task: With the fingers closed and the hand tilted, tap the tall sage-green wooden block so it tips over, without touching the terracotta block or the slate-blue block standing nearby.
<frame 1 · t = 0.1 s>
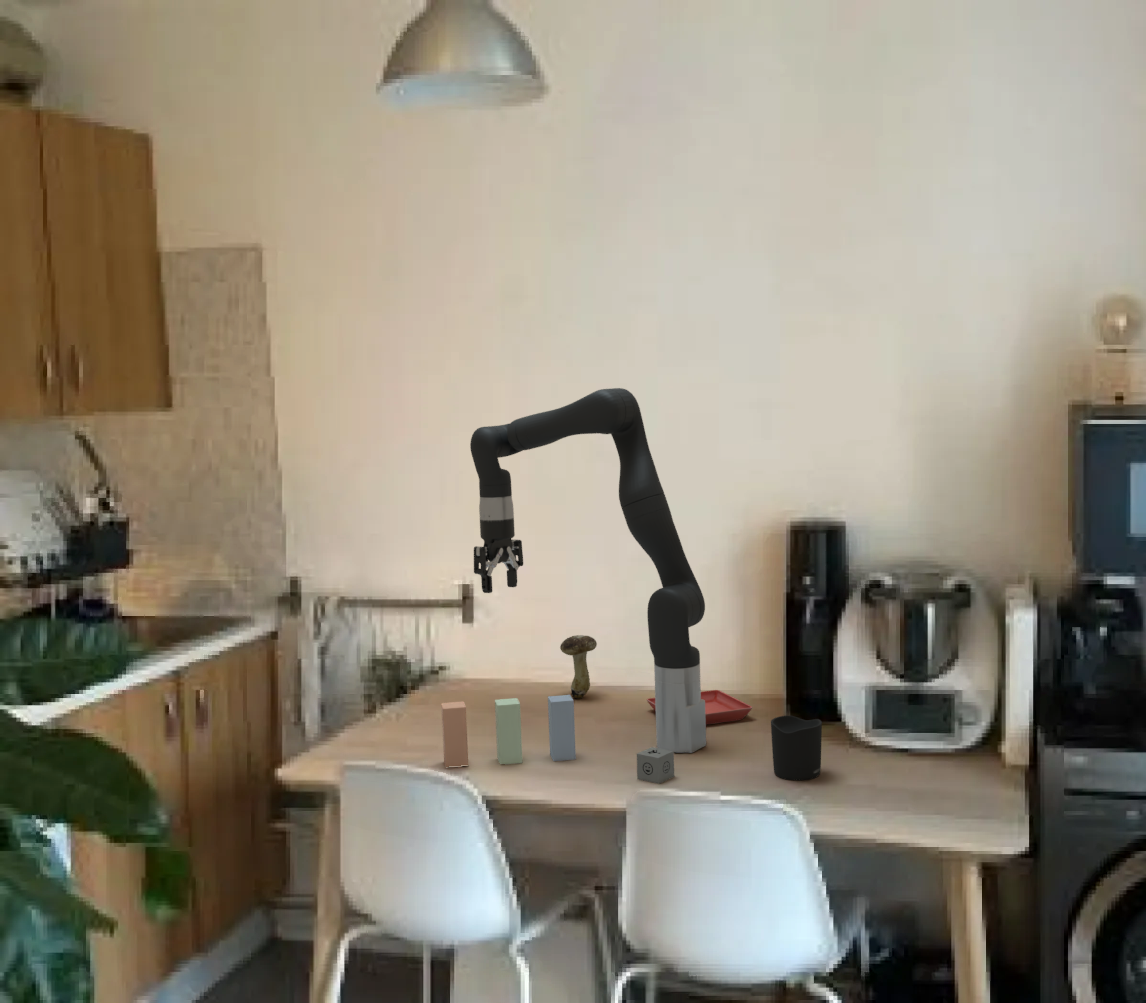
hand: (500, 589, 283), 29 cm above the table, tool pointing down, fingers open, 8 cm apart
mushroom: (580, 698, 301), on the table
pen holder: (797, 774, 241), on the table
terracotta block: (456, 764, 254), on the table
red square tray: (698, 718, 283), on the table
slate blue block: (562, 757, 256), on the table
dice cube: (655, 779, 241), on the table
sage green block: (509, 760, 255), on the table
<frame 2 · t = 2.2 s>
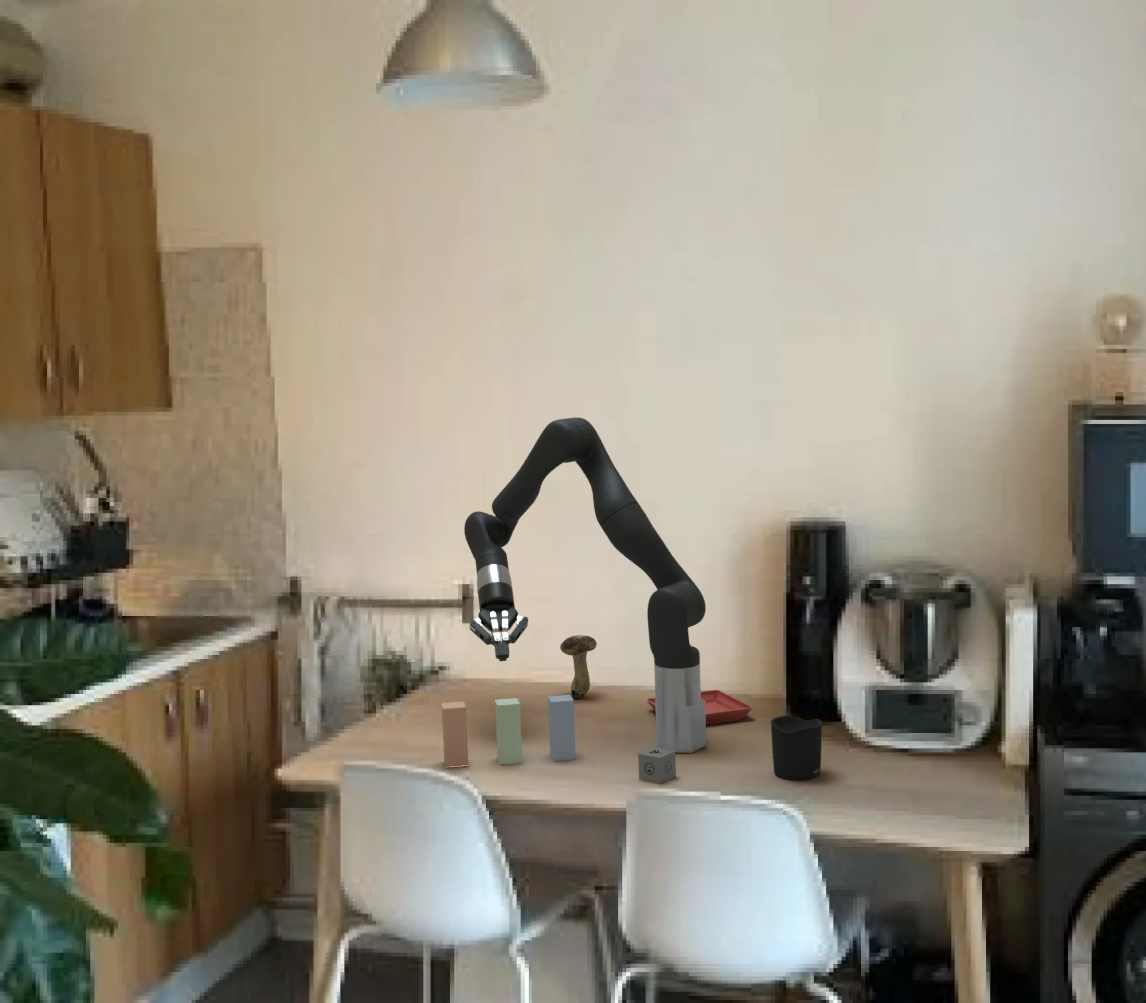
hand: (503, 659, 265), 18 cm above the table, tool tilted 45°, fingers closed
nothing on the table moved.
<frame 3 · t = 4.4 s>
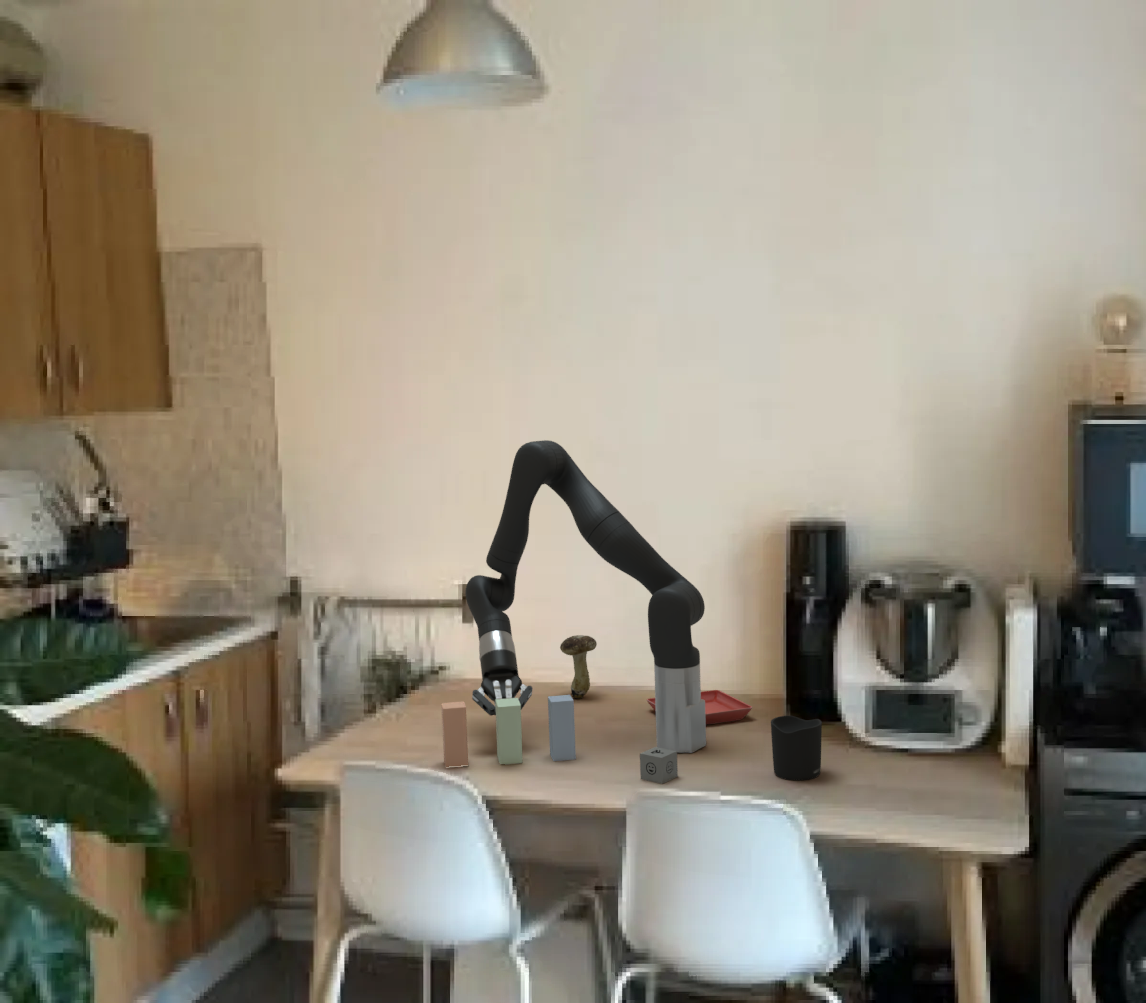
hand: (507, 730, 257), 5 cm above the table, tool tilted 45°, fingers closed
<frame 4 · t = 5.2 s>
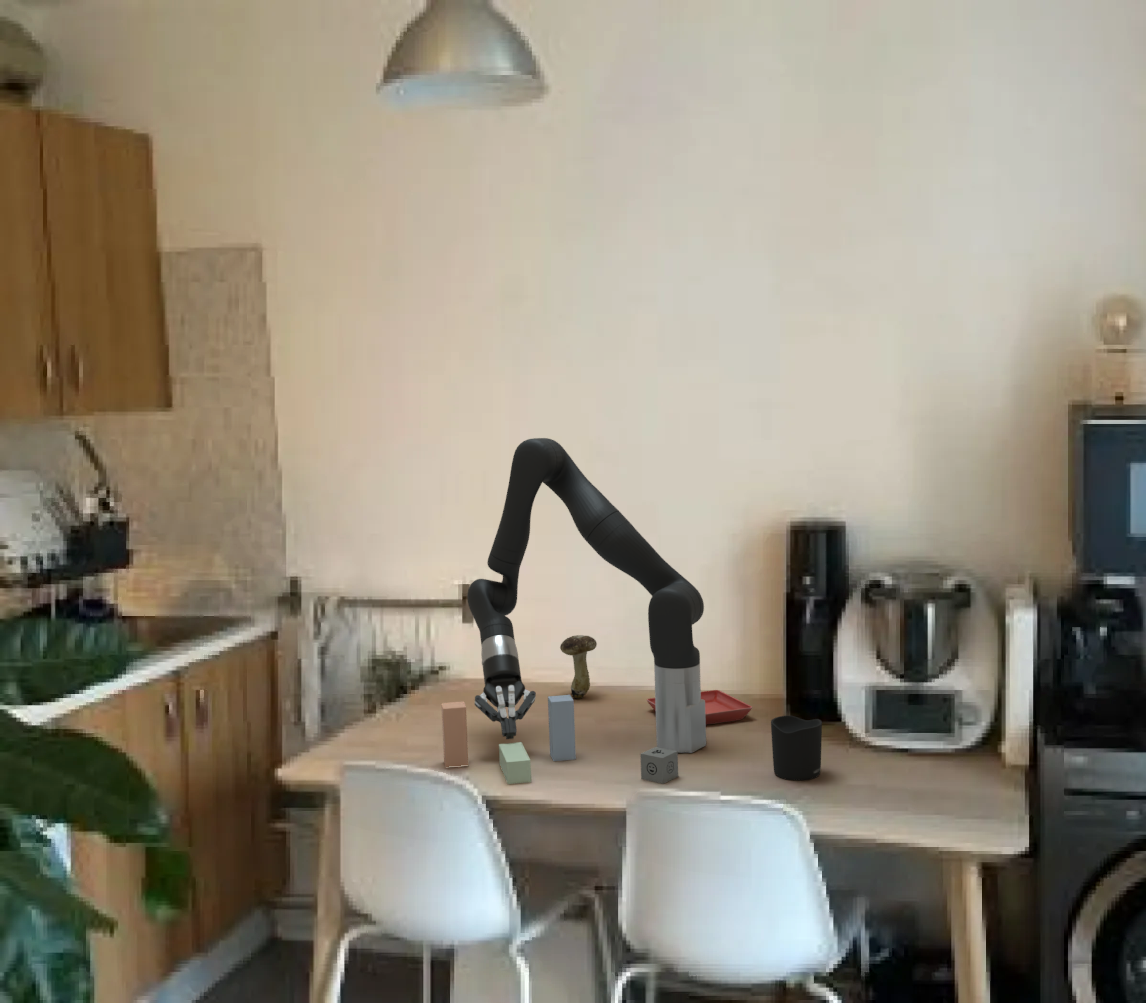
hand: (510, 737, 253), 5 cm above the table, tool tilted 45°, fingers closed
sage green block: (510, 754, 253), point 2 cm above the table, tilted 90°
everything else where it was.
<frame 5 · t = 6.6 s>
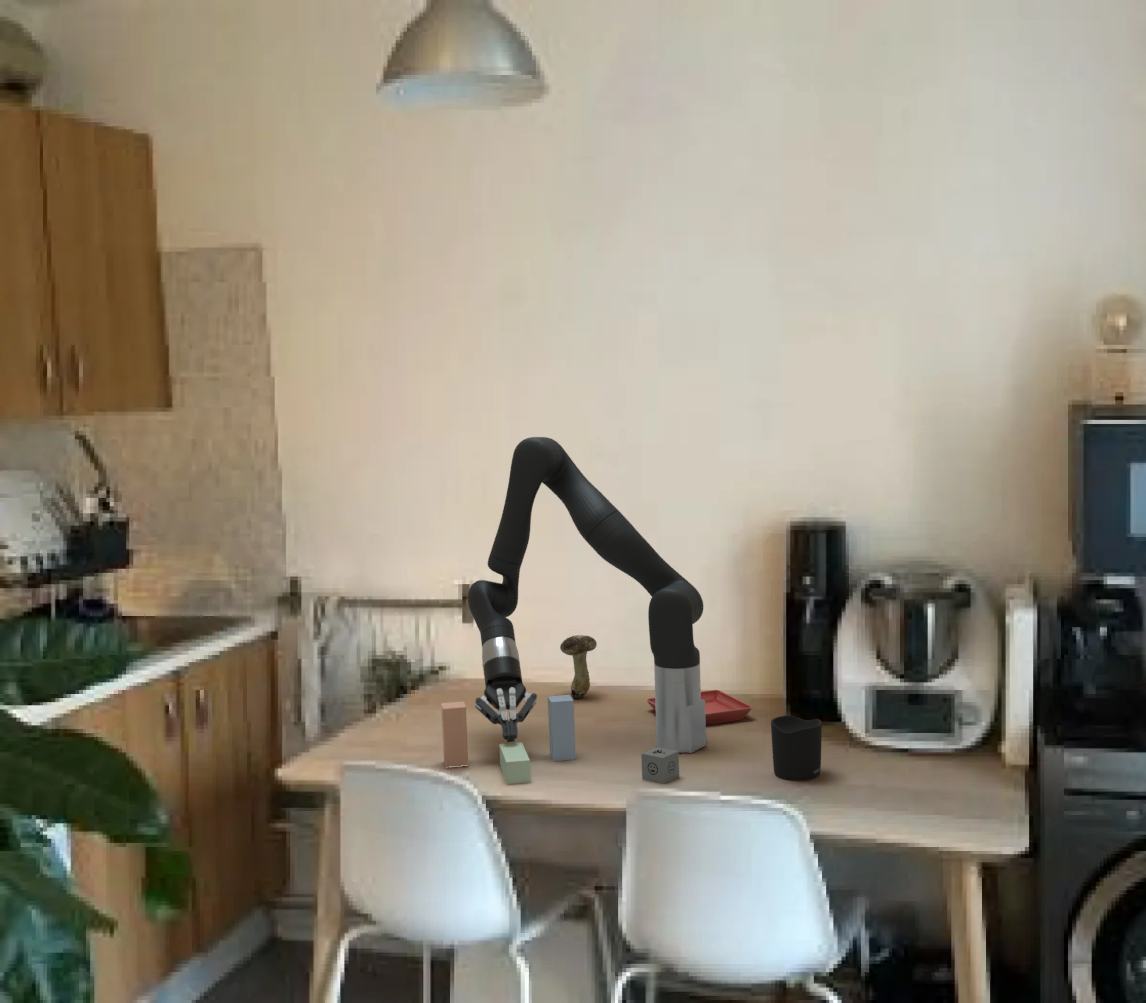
hand: (511, 739, 251), 5 cm above the table, tool tilted 45°, fingers closed
nothing on the table moved.
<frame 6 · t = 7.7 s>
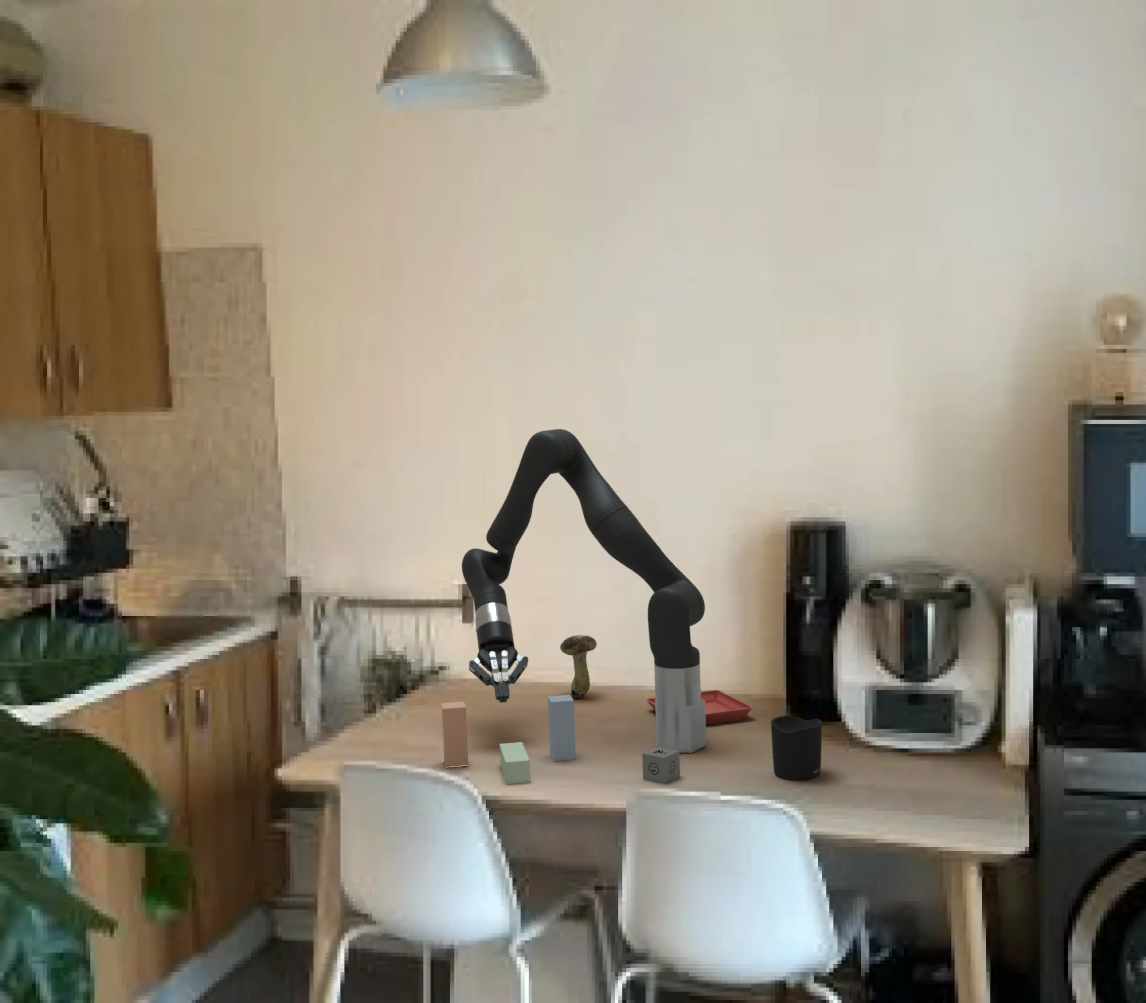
hand: (503, 700, 260), 11 cm above the table, tool tilted 45°, fingers closed
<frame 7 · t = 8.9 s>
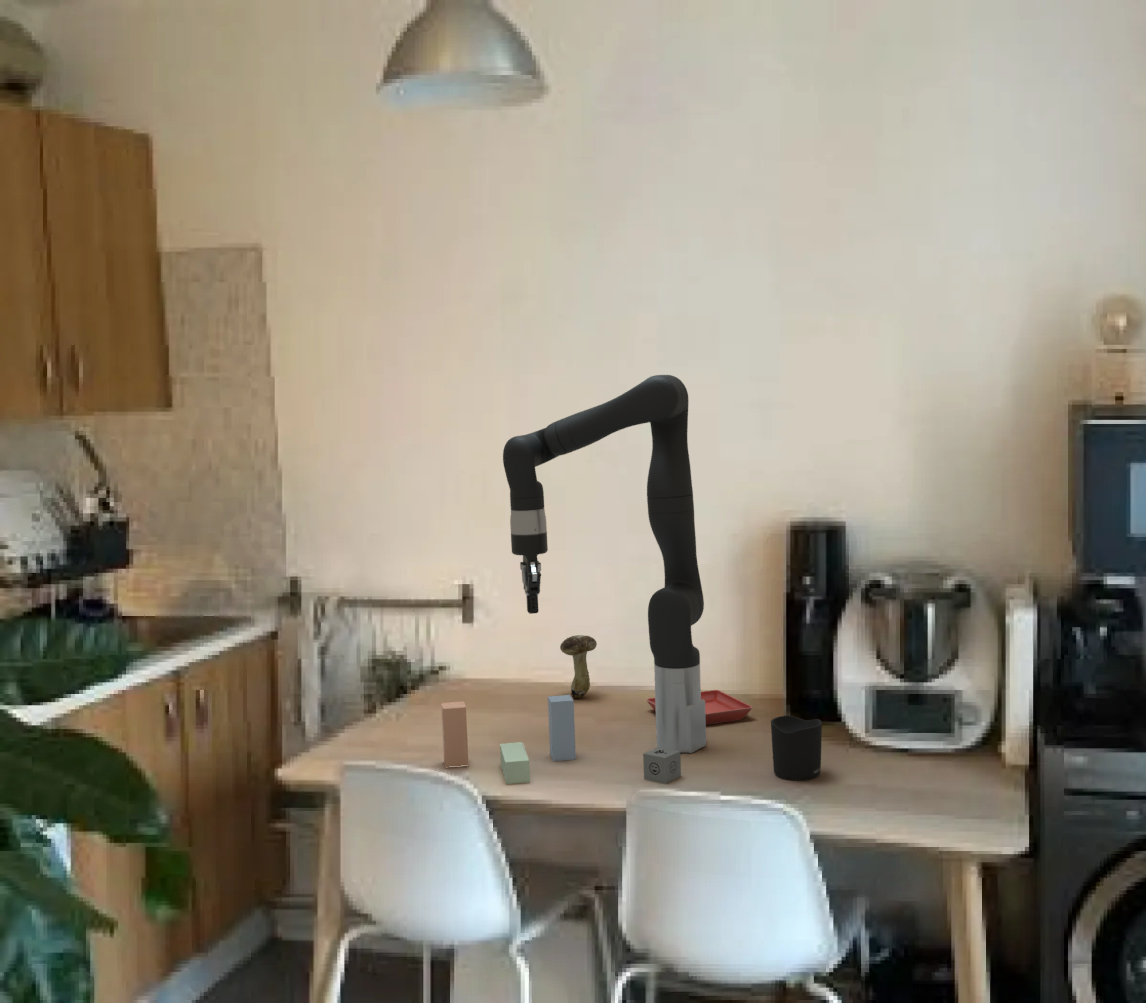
hand: (532, 612, 268), 27 cm above the table, tool pointing down, fingers closed
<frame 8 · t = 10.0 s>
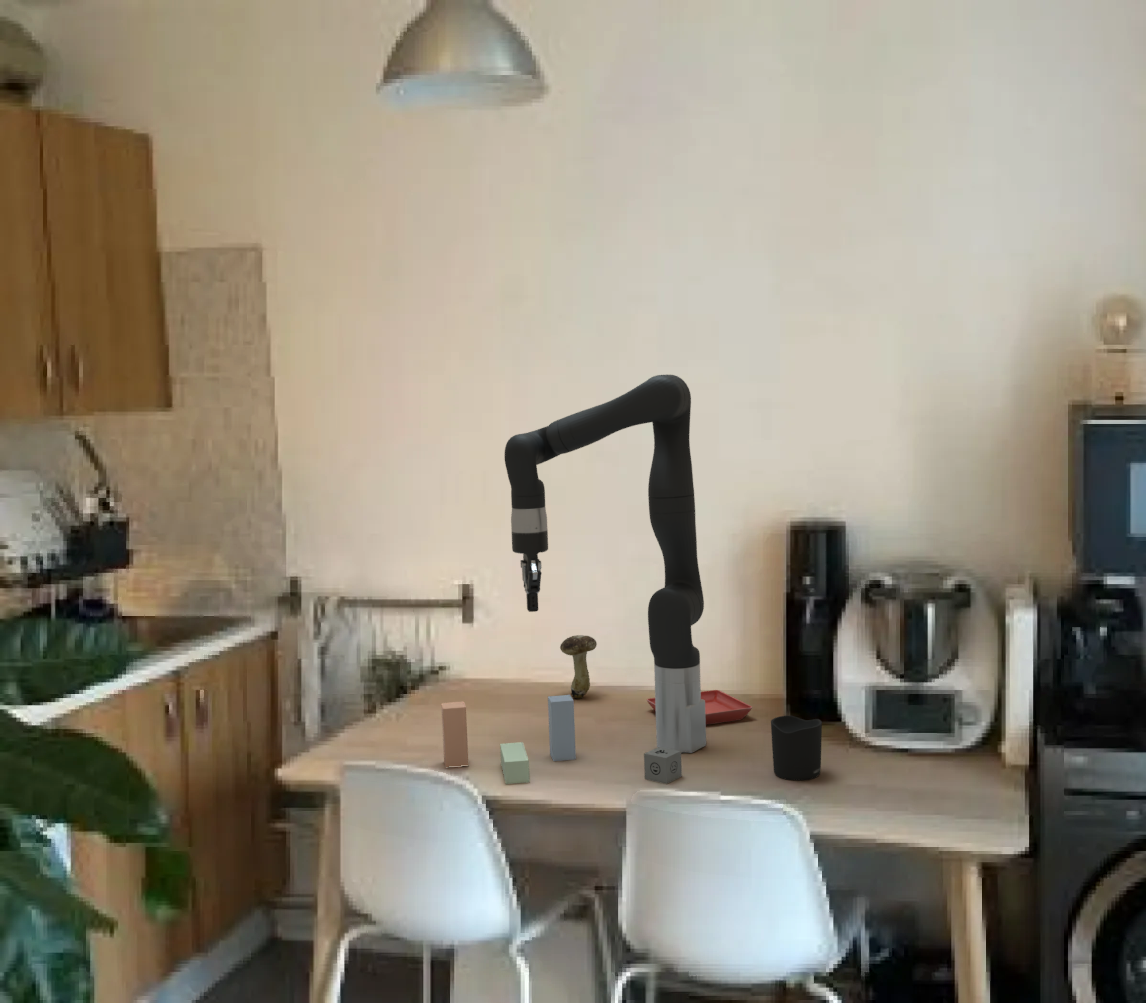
hand: (532, 610, 268), 27 cm above the table, tool pointing down, fingers closed
at the end: sage green block tilted 90°; terracotta block moved 0.0 cm from its start; slate blue block moved 0.0 cm from its start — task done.
